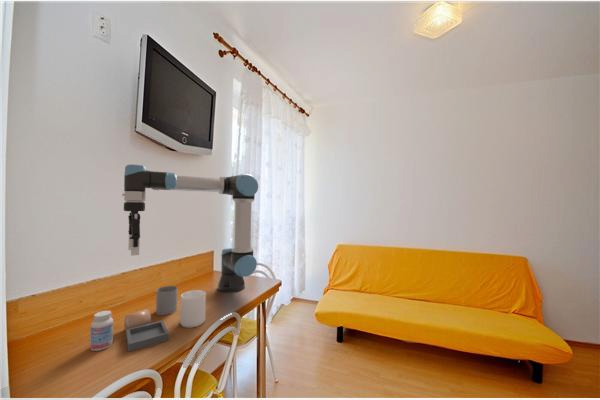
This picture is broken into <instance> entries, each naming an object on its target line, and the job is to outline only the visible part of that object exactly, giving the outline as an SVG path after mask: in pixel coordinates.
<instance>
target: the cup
mask: <svg viewBox="0 0 600 400" xmlns="http://www.w3.org/2000/svg"><path fill="white" fill-rule="evenodd" d="M178 290H179V289H178V286H176V285H165V286H162V287H158V288H157V289H156V298H155V300H156V301H155V313H156V315H158V316H167V315H171V314H174V313H176V312H177V310H178Z"/></svg>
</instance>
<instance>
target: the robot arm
mask: <svg viewBox="0 0 600 400" xmlns="http://www.w3.org/2000/svg"><path fill="white" fill-rule="evenodd" d="M123 180H124V181H123V182H124V183H123V185H124V186H123V187H124V190H123V193H122V196H123V200H124V201H125V202H123V211H124V212H129V215H128V231H127V232H128V247H127V248H128V251H130V256H140V238H141V227H140V226H141V225H140V224H141V214H140V213H139V212H145V210H146V203H145V201H146V193H147V192H146V189H152V190H153V191H182V192H184V191H185V192H186V191H187V192H208V193H209V192H210V193H218V194H220V195H228V196H232V201H234V203H235V206H234V208H235V209H234V245H233V247H227V248H223V249H221V255H220V256H221V264H220V265H221V269H220V270H221V271H220V277H219V281H218V283H217V290H218V291H220V292H224V293H232V292H238V291H242V290H243V288H244V287H246V283H245V279H244V278H246V277H249V276H251V275H252V274H253V273H254V272H255V271H256V269H257V266H258V263H257V262H258V261H257V259H256V258H255V256H254V249H253V248H252V245H251V244H252V203H253V202H254V201H255V196H256V194H257V192H258V190H259V183H258V180H257V178H255V176H254V175H251V174H248V173H240V174H239V175H232V176H220V177H218V178H214V177H201V176H188V175H187V176H185V175H177V174H176V173H174V172H169V171H167V172H166V171H152V170H151V171H150V170H147V167H146V166H145V165H143V164H142V165H141V164H127V165H125V167H124V176H123ZM241 289H242V290H241ZM244 289H245V288H244Z"/></svg>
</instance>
